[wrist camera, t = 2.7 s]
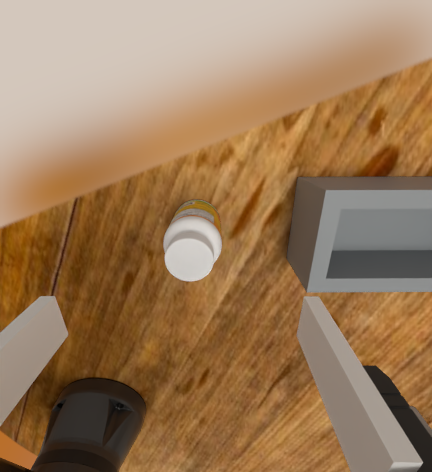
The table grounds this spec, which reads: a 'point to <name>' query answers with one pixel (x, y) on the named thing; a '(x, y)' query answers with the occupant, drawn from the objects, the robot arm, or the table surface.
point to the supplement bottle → (193, 241)
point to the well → (362, 234)
